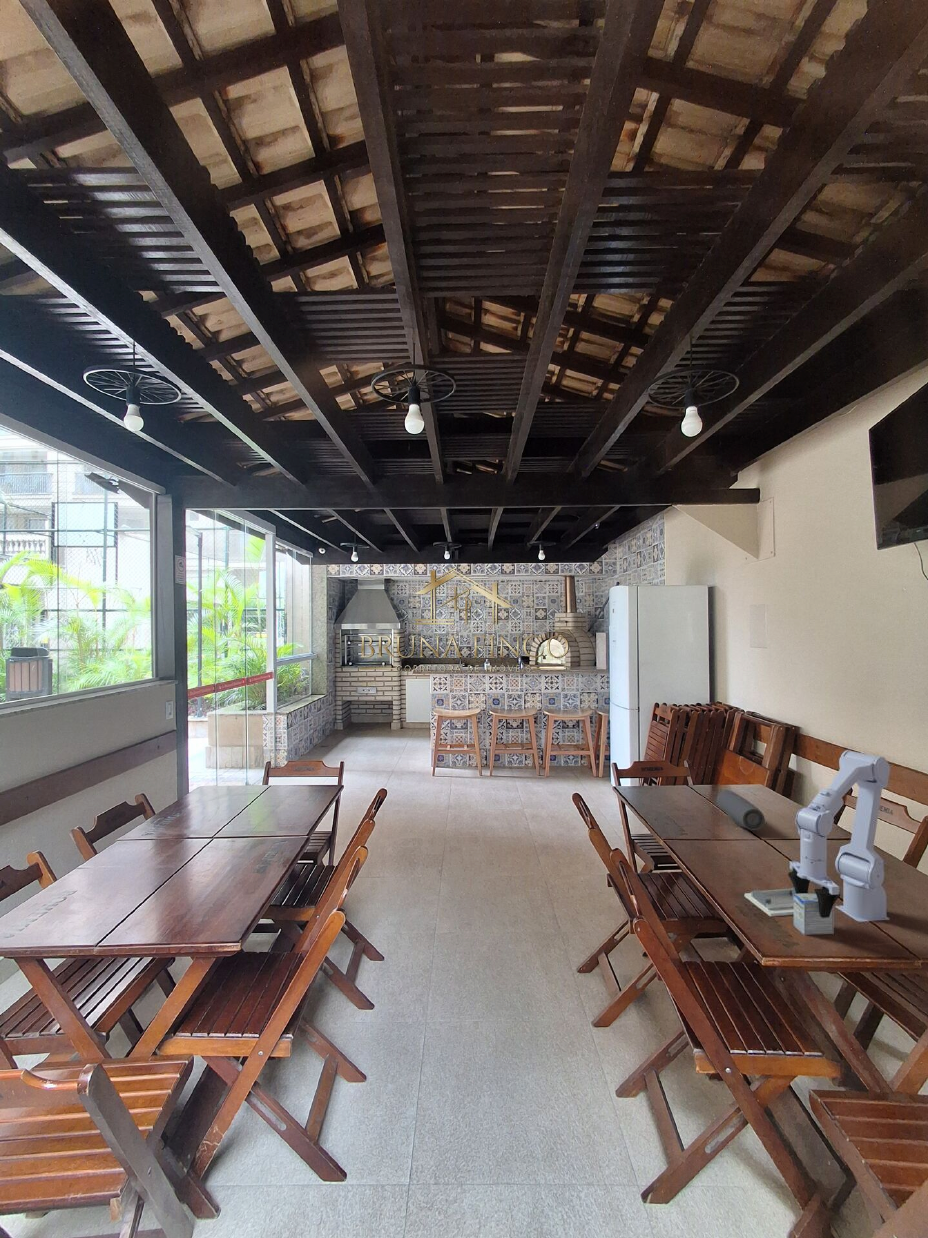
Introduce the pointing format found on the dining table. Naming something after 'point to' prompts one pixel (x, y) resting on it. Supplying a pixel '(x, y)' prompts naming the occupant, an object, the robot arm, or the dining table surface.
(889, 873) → the dining table surface
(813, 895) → the medicine box
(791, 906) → the white flat tray
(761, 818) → the bluetooth speaker
